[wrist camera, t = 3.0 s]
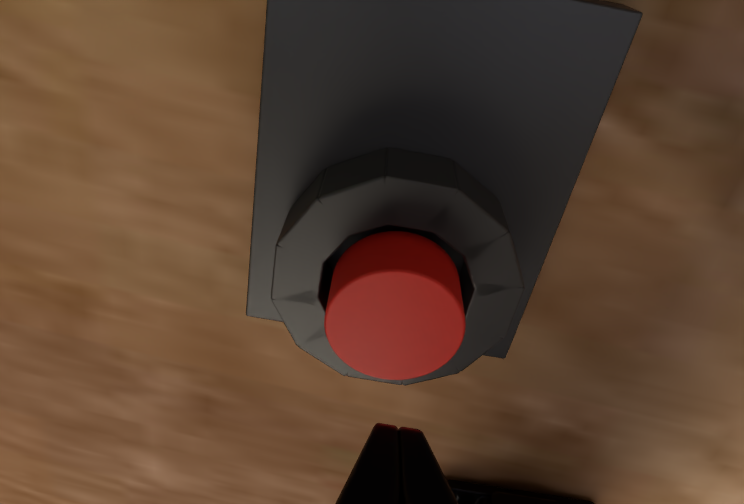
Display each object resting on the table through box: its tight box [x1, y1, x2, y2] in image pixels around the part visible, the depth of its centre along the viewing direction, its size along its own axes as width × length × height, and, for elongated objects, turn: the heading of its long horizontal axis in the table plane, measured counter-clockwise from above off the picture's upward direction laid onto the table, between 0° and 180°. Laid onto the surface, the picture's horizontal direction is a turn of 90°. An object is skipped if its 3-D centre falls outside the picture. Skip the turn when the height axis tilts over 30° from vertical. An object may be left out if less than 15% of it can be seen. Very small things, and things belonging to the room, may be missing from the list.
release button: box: [324, 231, 466, 380], centre depth 13 cm, size 3×3×2 cm
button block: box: [246, 0, 642, 385], centre depth 14 cm, size 10×8×3 cm
